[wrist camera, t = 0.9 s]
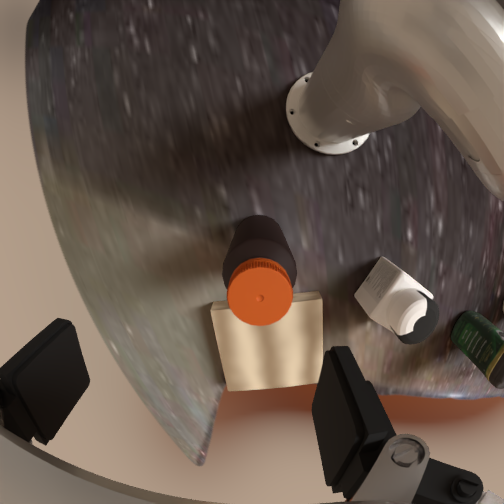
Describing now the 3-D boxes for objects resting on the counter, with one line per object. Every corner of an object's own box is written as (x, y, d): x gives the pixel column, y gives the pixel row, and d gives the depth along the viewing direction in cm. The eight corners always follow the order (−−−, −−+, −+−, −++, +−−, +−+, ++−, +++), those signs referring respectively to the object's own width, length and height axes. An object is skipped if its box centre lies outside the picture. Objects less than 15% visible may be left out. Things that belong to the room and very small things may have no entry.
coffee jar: (444, 340, 44) (493, 394, 26) (462, 305, 42) (520, 353, 24) (468, 345, 45) (513, 393, 27) (485, 314, 43) (536, 357, 25)
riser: (318, 290, 42) (322, 298, 39) (319, 371, 46) (322, 381, 43) (213, 301, 42) (210, 310, 40) (229, 380, 47) (228, 391, 44)
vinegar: (225, 244, 40) (196, 307, 21) (252, 204, 38) (247, 234, 19) (264, 270, 41) (270, 350, 22) (292, 232, 39) (324, 286, 20)
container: (411, 278, 41) (454, 312, 28) (384, 315, 43) (418, 358, 30) (380, 254, 40) (423, 285, 27) (352, 295, 42) (383, 338, 29)
